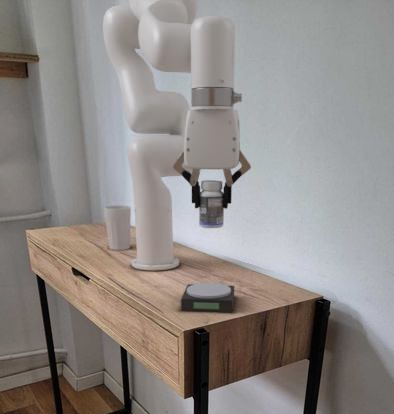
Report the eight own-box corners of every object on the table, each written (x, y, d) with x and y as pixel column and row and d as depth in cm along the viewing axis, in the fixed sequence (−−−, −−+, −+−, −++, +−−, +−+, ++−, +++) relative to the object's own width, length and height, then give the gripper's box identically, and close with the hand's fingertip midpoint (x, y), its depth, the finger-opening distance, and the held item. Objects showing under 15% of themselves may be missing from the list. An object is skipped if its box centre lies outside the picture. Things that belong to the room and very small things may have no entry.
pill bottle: (196, 225, 96) (196, 180, 93) (219, 223, 97) (219, 179, 94) (203, 229, 92) (203, 182, 88) (226, 227, 93) (227, 181, 90)
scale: (187, 295, 105) (187, 281, 103) (234, 296, 104) (234, 282, 102) (181, 311, 95) (180, 296, 94) (231, 312, 94) (232, 297, 93)
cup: (101, 247, 148) (98, 207, 143) (122, 243, 153) (120, 204, 148) (117, 251, 143) (114, 210, 138) (138, 247, 148) (136, 207, 143)
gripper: (260, 102, 88) (255, 205, 96) (168, 103, 90) (171, 204, 97) (260, 99, 81) (255, 210, 89) (161, 100, 83) (164, 209, 90)
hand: (211, 206), depth 93 cm, fingers closed on pill bottle, 4 cm apart
